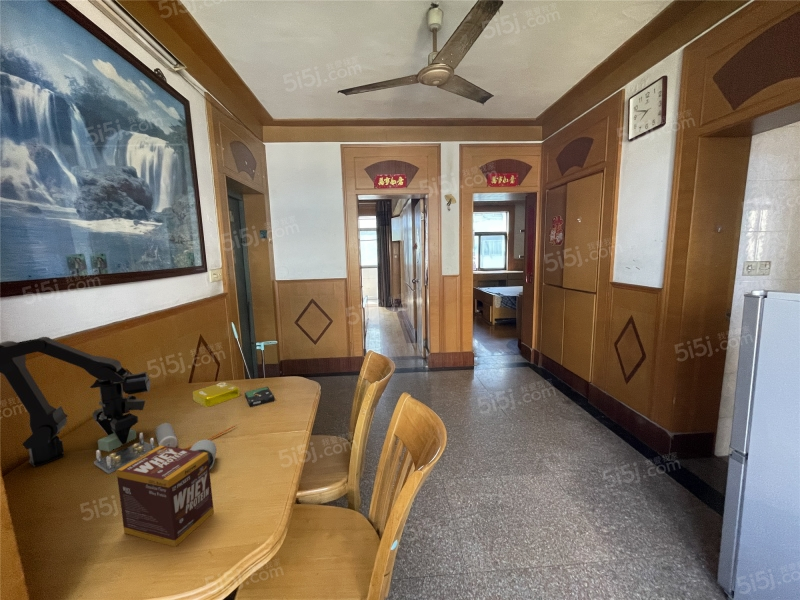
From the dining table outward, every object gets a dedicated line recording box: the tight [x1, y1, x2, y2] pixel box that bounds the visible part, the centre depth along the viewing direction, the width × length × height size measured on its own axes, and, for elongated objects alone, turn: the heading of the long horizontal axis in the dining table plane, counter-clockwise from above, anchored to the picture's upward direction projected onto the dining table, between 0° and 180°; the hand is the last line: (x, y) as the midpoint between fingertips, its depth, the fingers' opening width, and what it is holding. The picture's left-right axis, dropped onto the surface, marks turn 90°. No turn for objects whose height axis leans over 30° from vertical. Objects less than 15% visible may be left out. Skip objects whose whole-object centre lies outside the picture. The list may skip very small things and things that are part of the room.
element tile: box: [192, 381, 240, 408], centre depth 149 cm, size 15×15×5 cm
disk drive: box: [244, 386, 276, 408], centre depth 147 cm, size 10×3×15 cm
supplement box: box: [115, 445, 215, 548], centre depth 76 cm, size 10×15×16 cm
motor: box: [155, 422, 238, 450], centre depth 118 cm, size 23×22×5 cm
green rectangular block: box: [97, 428, 137, 452], centre depth 112 cm, size 8×5×4 cm, turn 163°
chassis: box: [93, 432, 158, 475], centre depth 103 cm, size 13×10×4 cm
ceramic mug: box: [189, 438, 217, 471], centre depth 96 cm, size 11×8×8 cm
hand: (118, 440), depth 112 cm, fingers open, 9 cm apart
